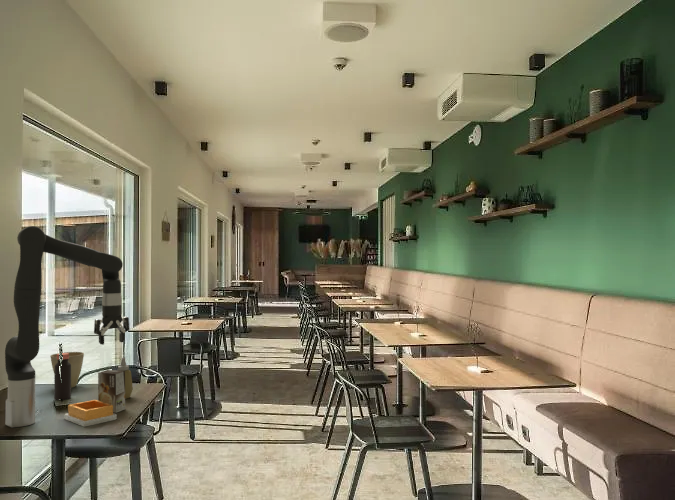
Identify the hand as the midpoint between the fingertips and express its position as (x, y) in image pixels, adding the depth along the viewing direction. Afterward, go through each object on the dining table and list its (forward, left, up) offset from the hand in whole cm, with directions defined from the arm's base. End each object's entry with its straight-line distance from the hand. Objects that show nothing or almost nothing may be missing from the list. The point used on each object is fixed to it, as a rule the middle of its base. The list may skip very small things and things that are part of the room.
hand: (111, 343), depth 238 cm
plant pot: (+8, +58, -28) cm, 65 cm away
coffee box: (0, 0, -28) cm, 28 cm away
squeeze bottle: (+14, +16, -28) cm, 35 cm away
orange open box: (-12, -6, -28) cm, 31 cm away
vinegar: (-4, +36, -28) cm, 46 cm away
